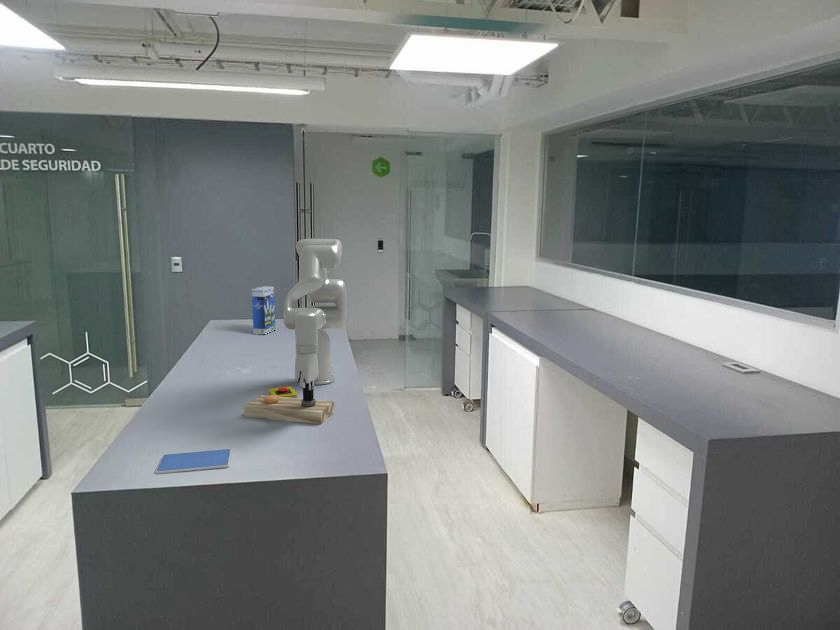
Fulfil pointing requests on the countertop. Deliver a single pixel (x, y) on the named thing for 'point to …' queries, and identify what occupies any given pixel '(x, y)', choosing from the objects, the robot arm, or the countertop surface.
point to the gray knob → (308, 403)
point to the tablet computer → (194, 461)
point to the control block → (289, 410)
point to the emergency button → (283, 392)
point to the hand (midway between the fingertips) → (308, 400)
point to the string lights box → (263, 310)
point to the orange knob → (271, 399)
